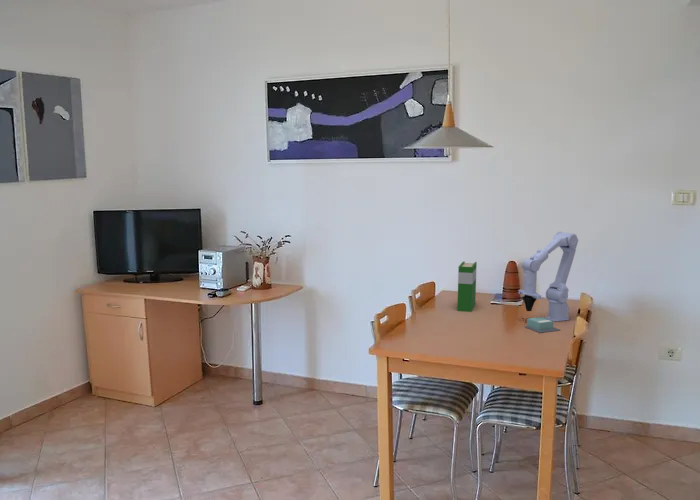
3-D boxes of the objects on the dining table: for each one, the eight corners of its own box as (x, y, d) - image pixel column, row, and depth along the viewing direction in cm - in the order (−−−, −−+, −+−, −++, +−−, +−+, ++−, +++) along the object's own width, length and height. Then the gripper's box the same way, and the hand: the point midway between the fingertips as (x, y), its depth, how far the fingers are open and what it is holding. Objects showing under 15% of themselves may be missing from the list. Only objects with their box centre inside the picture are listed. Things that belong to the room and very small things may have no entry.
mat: (544, 324, 297) (544, 323, 297) (560, 330, 287) (560, 329, 287) (524, 327, 292) (524, 326, 292) (539, 333, 282) (539, 332, 282)
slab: (540, 316, 296) (553, 321, 288) (540, 323, 297) (552, 328, 289) (527, 318, 293) (539, 322, 285) (526, 325, 294) (539, 330, 285)
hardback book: (461, 303, 341) (463, 261, 337) (475, 304, 338) (476, 262, 335) (457, 310, 324) (458, 266, 321) (471, 312, 322) (472, 267, 318)
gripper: (513, 281, 301) (512, 308, 303) (533, 287, 288) (532, 315, 290) (525, 280, 304) (524, 307, 306) (545, 285, 291) (543, 313, 293)
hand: (528, 310), depth 298 cm, fingers closed
